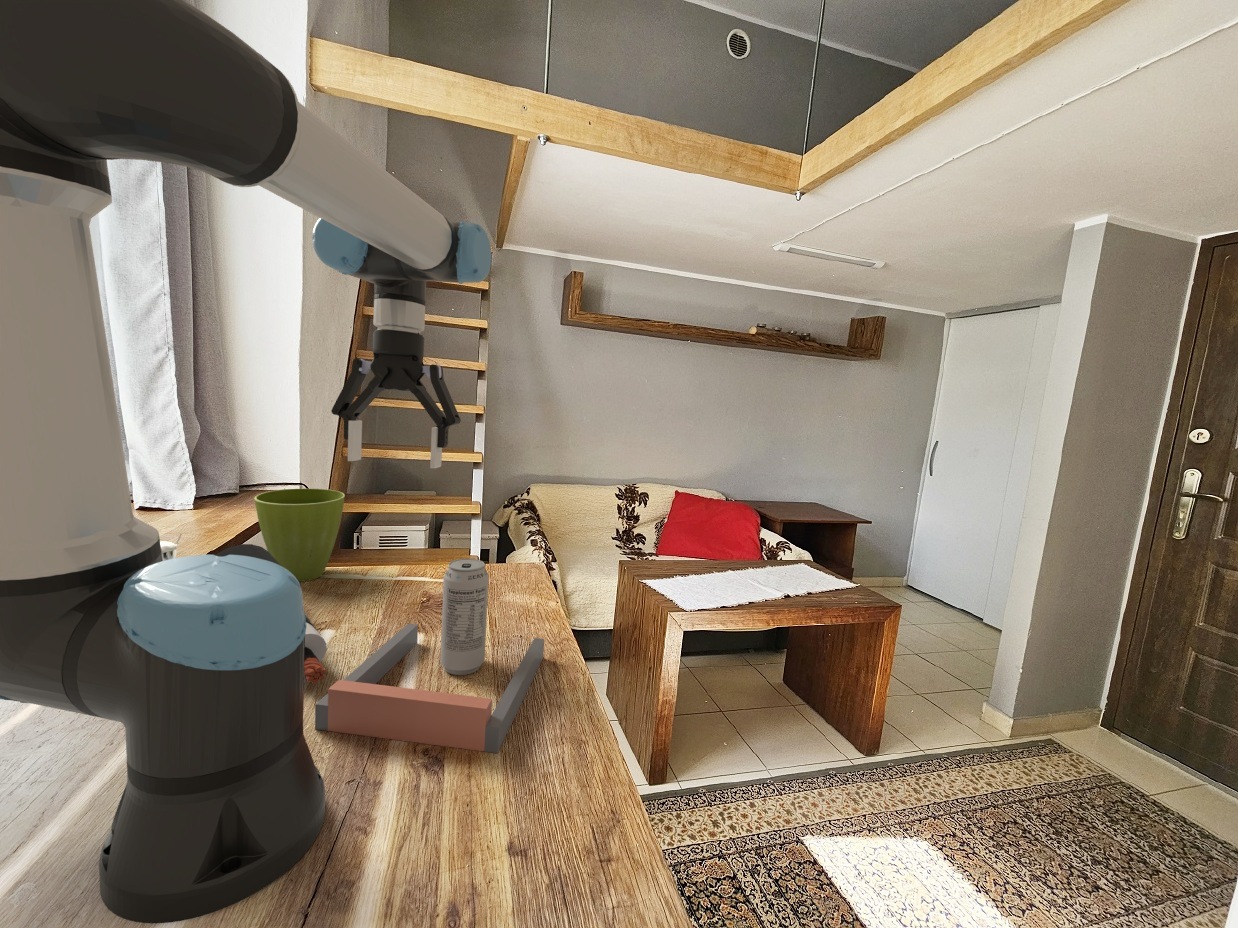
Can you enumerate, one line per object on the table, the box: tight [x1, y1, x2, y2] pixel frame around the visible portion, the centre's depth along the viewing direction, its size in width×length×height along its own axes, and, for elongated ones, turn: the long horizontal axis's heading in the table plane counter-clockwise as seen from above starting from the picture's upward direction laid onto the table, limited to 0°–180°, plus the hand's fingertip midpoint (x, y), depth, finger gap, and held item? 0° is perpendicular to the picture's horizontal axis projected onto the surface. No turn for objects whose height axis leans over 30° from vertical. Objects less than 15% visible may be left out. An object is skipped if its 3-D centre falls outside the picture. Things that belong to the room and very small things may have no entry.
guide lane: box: [314, 623, 545, 754], centre depth 71 cm, size 22×21×5 cm
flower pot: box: [254, 488, 346, 583], centre depth 105 cm, size 15×15×16 cm
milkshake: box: [160, 533, 183, 561], centre depth 93 cm, size 4×5×10 cm
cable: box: [214, 543, 327, 685], centre depth 78 cm, size 10×34×10 cm, turn 48°
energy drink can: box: [440, 558, 489, 676], centre depth 76 cm, size 6×6×15 cm
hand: (394, 464), depth 88 cm, fingers open, 13 cm apart
